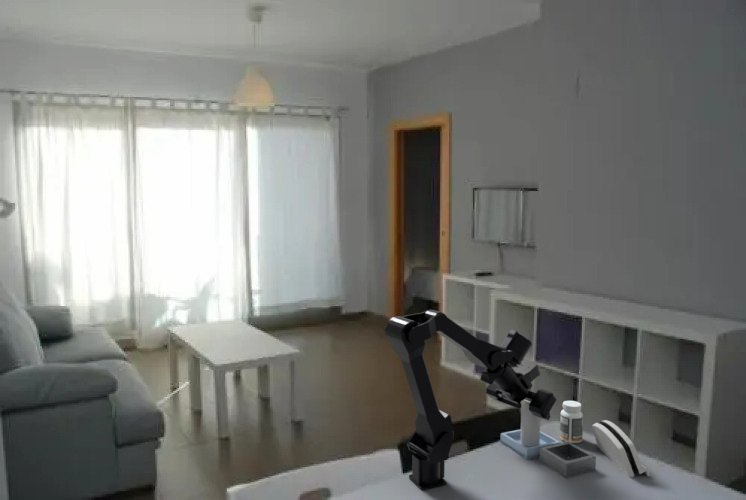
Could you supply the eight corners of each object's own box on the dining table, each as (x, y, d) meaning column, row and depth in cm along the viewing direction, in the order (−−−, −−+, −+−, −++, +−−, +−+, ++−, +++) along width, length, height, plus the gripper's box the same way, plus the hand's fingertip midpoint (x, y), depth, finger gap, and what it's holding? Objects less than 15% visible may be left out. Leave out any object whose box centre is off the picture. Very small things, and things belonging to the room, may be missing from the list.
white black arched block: (650, 476, 134) (638, 437, 132) (631, 484, 133) (619, 445, 132) (615, 445, 150) (604, 410, 149) (598, 451, 150) (587, 417, 149)
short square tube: (565, 478, 133) (566, 463, 132) (539, 461, 141) (539, 448, 141) (595, 470, 136) (596, 456, 136) (568, 455, 145) (568, 441, 144)
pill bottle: (581, 436, 156) (582, 400, 155) (583, 445, 150) (584, 408, 149) (559, 434, 157) (560, 398, 156) (560, 442, 152) (561, 406, 151)
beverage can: (524, 448, 146) (525, 402, 145) (517, 440, 151) (518, 396, 150) (542, 447, 147) (544, 402, 146) (535, 439, 152) (536, 395, 150)
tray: (526, 459, 142) (527, 449, 142) (500, 442, 152) (500, 433, 152) (560, 451, 146) (560, 442, 146) (532, 435, 156) (532, 426, 156)
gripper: (552, 361, 137) (580, 397, 144) (494, 344, 152) (522, 377, 159) (529, 400, 133) (558, 435, 140) (472, 378, 148) (501, 411, 156)
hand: (534, 412), depth 149 cm, fingers open, 9 cm apart
